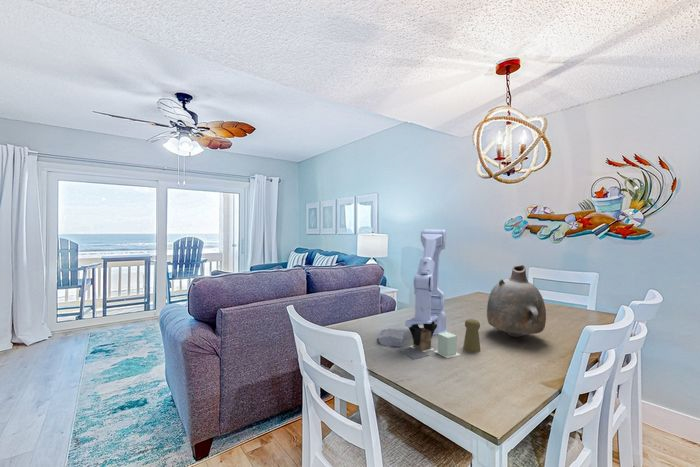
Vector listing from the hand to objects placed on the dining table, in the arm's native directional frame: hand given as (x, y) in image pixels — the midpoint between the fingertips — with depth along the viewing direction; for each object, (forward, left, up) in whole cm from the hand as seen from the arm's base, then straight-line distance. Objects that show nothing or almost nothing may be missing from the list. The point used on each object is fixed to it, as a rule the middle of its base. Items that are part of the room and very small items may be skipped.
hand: (422, 343), depth 113 cm
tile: (-5, +8, -2) cm, 9 cm away
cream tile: (0, 0, -2) cm, 2 cm away
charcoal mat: (+6, +3, -2) cm, 7 cm away
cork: (-16, +9, -2) cm, 18 cm away
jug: (-43, +8, -2) cm, 44 cm away
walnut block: (0, 0, -2) cm, 2 cm away
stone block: (+6, -11, -2) cm, 13 cm away
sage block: (-5, +8, -2) cm, 9 cm away
